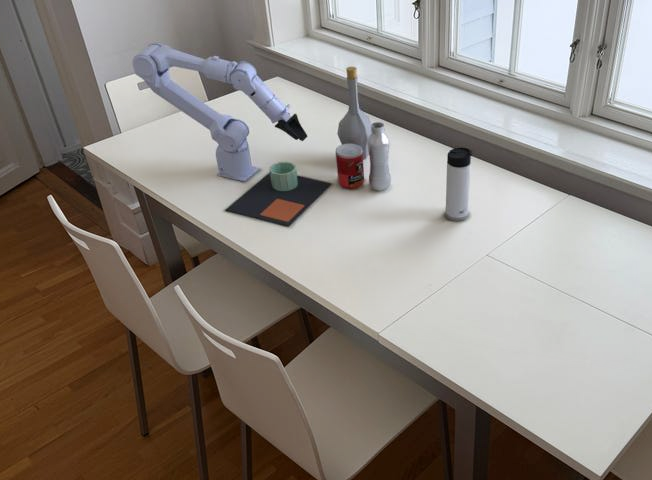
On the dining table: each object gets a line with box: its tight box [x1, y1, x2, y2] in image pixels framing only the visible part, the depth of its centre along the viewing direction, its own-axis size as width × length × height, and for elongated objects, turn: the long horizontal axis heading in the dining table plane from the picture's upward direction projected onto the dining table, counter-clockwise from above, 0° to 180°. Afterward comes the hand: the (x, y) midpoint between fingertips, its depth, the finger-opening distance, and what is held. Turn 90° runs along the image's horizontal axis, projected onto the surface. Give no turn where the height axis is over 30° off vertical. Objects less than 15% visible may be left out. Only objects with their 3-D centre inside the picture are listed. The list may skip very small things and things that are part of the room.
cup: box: [269, 161, 298, 191], centre depth 193 cm, size 7×7×6 cm
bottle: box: [336, 66, 372, 161], centre depth 198 cm, size 11×11×30 cm
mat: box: [225, 172, 332, 228], centre depth 190 cm, size 20×24×1 cm
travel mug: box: [445, 147, 474, 222], centre depth 179 cm, size 6×7×20 cm
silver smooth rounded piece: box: [367, 121, 392, 192], centre depth 189 cm, size 6×7×20 cm
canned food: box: [335, 144, 365, 190], centre depth 194 cm, size 8×8×11 cm
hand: (301, 138), depth 191 cm, fingers open, 7 cm apart
